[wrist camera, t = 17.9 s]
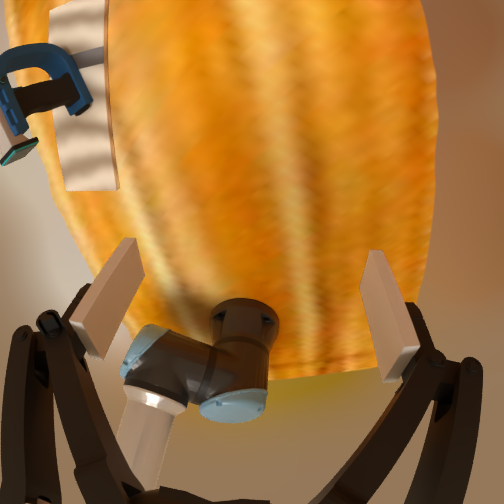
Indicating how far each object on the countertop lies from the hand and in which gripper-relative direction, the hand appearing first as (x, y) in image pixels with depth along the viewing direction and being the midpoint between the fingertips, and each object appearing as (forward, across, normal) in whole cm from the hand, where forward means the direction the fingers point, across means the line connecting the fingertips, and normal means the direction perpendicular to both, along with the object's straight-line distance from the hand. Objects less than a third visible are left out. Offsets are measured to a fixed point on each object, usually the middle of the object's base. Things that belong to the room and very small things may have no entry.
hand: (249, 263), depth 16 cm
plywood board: (+31, +31, -9) cm, 45 cm away
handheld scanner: (+30, +32, -12) cm, 45 cm away
